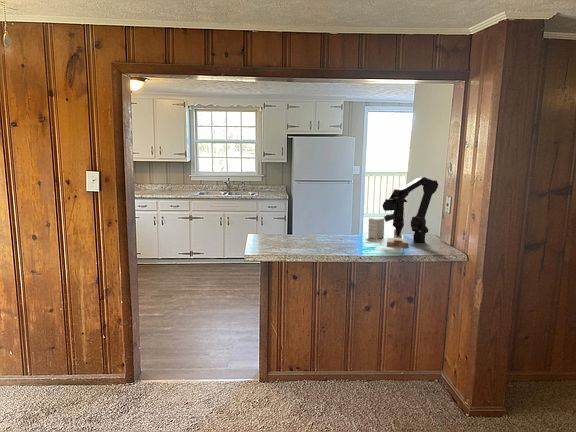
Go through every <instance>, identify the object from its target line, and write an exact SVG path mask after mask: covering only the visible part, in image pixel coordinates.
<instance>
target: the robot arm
mask: <svg viewBox="0 0 576 432" xmlns="http://www.w3.org/2000/svg"><path fill="white" fill-rule="evenodd" d="M420 186H422V192H423V194H422V197H421V201H420V203H419V206H418V210H417V213H416V215H415V216H412V217H411V219H410V220H411V221H410V228H411V231H412V232H414V233H413V234H412V235H413V236H412V237H413V239H412V241H413V243H420V244H421V243H422V244H425V243H426V234H427V233H429V228H428V227H427V226H426V224H427V220H426V215H427V211H428V208H429V205H430V203H431V199H432V196H433V195H434V194H435V193H436V191H437V189H438V188H439V183H438V180H437V179H436V180H435V179H430V178H427V177H425V176H418V177H416V178H415V179H413V180H412V181H410V182H409V183H407V184H405V185H404V186H400V187H397V188H394V189H393V192H392V193H391V195H390V196H389V198H385V199H384V202H383V203H382V210H383V211H385V212H390V211H392V213H391V214H389V213H388V214H385V215H384V216H383V218H384V223H386V222H387V223H388V222H390V221H392V226H393V227H394V229H396V234H397V236H399V235H400V233H401V231H402V232H403V229H404V227H405V218H404V217H405V216H404V215H405V203H408V200H407V199H406V198H407V197H408V196H409V194H410V193H411V192H413V191H414V190H415V189H417V188H418V187H420Z"/></svg>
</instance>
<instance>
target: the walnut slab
mask: <svg viewBox="0 0 576 432" xmlns="http://www.w3.org/2000/svg"><path fill="white" fill-rule="evenodd" d="M386 247H390V248H391V247H395V248H409V239H408V238H402V239H400V238H394V237H393V238H392V237H390V238H389V237H388V238H387V240H386Z"/></svg>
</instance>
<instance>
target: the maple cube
mask: <svg viewBox="0 0 576 432" xmlns="http://www.w3.org/2000/svg"><path fill="white" fill-rule="evenodd" d="M393 238H395V239H403V230H402V231H401V233H400V235H399V236H397V234H396V228H394V230H393Z"/></svg>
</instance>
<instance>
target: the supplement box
mask: <svg viewBox="0 0 576 432" xmlns="http://www.w3.org/2000/svg"><path fill="white" fill-rule="evenodd" d="M367 234H368V238H372V239H375V240H377V239H381V238H382V237H383V238H384V236H385V219H384V217H375V216H374V217H369V218H368V232H367Z"/></svg>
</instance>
